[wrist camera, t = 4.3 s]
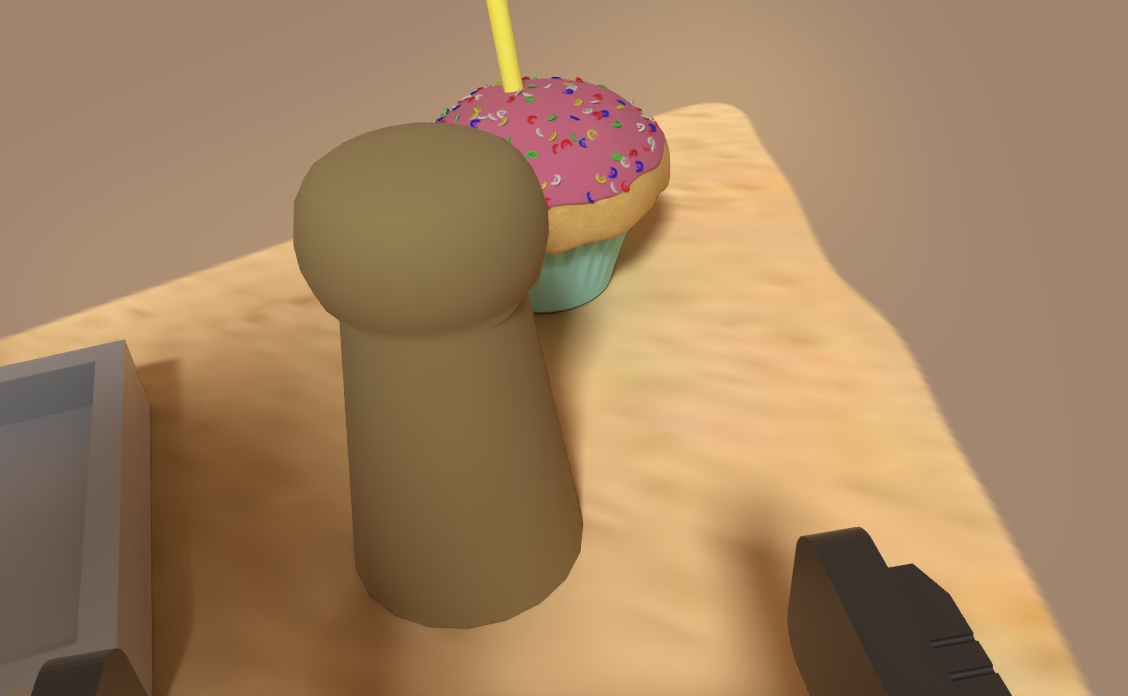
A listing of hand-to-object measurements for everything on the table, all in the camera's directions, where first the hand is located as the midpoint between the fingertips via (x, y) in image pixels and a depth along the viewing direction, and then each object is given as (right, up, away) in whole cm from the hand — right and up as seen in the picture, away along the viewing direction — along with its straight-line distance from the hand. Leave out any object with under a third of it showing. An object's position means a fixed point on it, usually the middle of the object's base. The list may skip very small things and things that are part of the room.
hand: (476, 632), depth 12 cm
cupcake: (+1, +6, +24) cm, 24 cm away
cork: (-1, -2, +14) cm, 14 cm away
